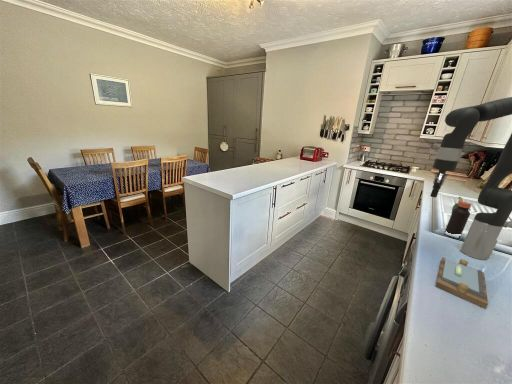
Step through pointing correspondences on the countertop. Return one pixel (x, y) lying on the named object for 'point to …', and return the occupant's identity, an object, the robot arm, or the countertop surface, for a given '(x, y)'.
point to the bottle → (458, 218)
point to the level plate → (463, 276)
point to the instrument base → (454, 291)
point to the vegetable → (457, 204)
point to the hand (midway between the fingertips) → (433, 196)
